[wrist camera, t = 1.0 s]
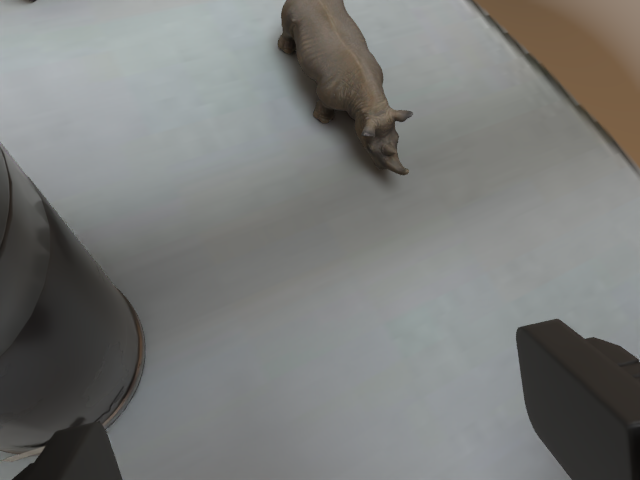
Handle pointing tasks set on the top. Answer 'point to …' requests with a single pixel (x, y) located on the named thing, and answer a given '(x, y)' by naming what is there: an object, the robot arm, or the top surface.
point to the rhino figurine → (343, 74)
